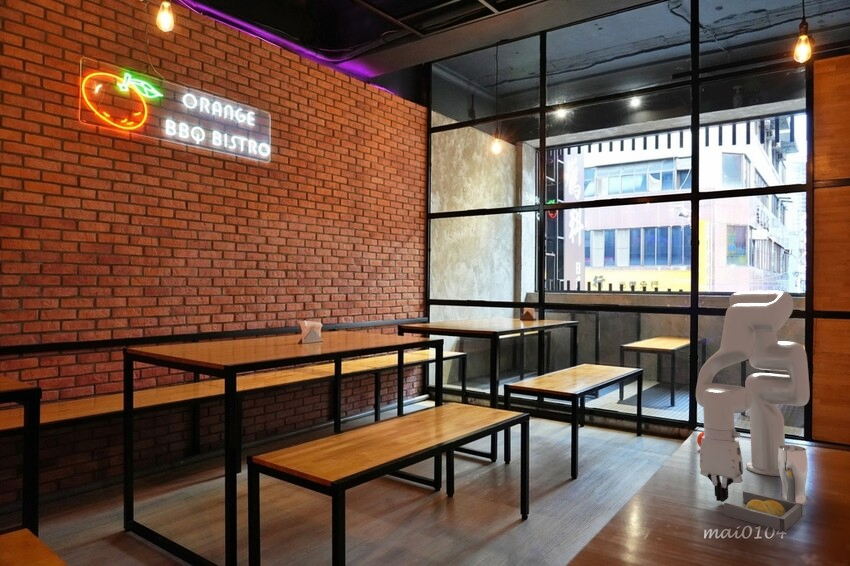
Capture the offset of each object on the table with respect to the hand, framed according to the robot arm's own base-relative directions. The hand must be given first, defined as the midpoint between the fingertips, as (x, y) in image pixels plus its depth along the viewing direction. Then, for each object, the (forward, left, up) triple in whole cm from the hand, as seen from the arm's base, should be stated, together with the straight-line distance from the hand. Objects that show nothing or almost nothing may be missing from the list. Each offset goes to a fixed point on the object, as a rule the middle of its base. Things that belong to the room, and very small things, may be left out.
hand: (721, 499), depth 153 cm
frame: (0, +10, -1) cm, 10 cm away
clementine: (-50, -24, -2) cm, 55 cm away
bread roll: (-1, +11, -2) cm, 11 cm away
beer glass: (-16, +13, -2) cm, 21 cm away
